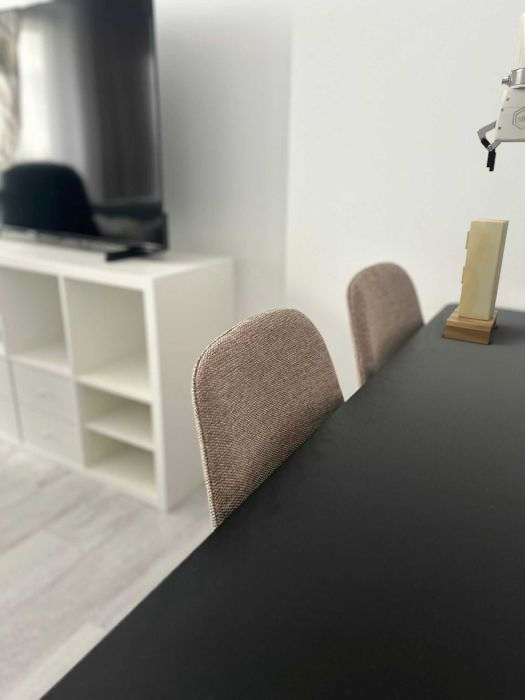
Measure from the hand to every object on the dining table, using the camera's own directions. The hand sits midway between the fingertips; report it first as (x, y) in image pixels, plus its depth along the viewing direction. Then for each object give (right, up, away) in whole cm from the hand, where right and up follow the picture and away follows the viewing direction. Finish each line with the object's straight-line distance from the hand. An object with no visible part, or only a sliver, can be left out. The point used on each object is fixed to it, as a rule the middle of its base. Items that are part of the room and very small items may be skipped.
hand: (515, 171), depth 109 cm
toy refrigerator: (-6, -30, +8) cm, 32 cm away
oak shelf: (-6, -34, +9) cm, 35 cm away
